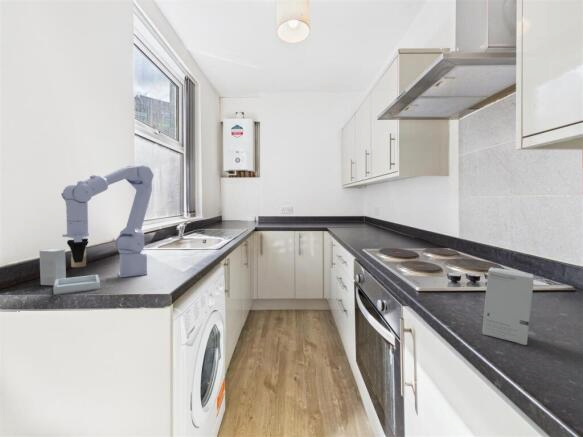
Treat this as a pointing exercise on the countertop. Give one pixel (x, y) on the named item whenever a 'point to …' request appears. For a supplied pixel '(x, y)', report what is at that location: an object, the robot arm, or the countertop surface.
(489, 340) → the countertop surface
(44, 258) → the skincare box
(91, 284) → the tray
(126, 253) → the robot arm
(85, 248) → the birch cylinder
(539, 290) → the countertop surface
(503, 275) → the skincare box
